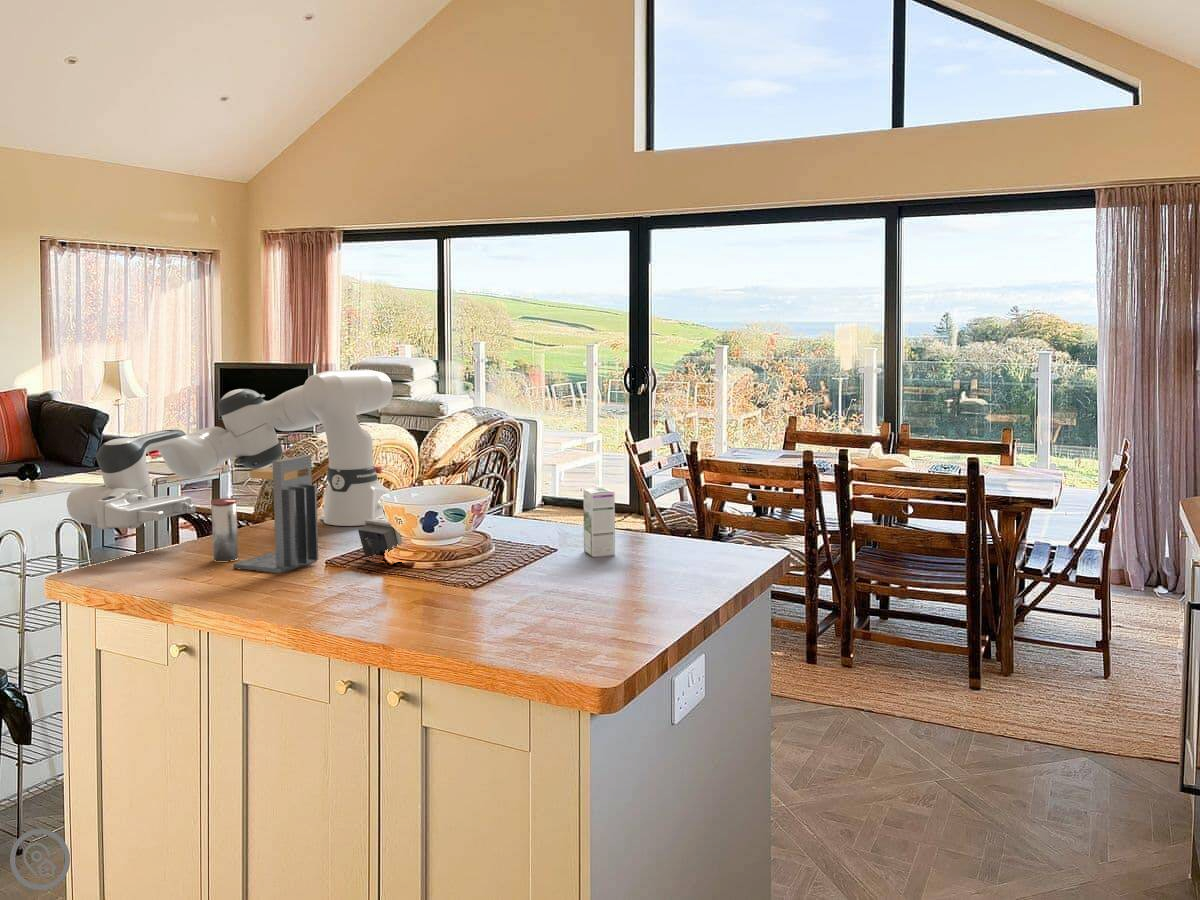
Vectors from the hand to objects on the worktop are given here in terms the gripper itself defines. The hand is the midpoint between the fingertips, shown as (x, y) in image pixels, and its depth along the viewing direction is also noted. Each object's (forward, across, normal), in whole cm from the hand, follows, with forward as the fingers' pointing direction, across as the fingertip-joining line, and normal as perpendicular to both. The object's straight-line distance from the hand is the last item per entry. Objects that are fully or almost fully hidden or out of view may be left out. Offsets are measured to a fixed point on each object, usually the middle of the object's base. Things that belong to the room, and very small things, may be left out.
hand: (177, 512), depth 221 cm
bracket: (+25, 0, -10) cm, 27 cm away
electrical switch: (+45, -11, -10) cm, 47 cm away
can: (+12, 0, -10) cm, 16 cm away
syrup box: (+85, -36, -10) cm, 93 cm away
